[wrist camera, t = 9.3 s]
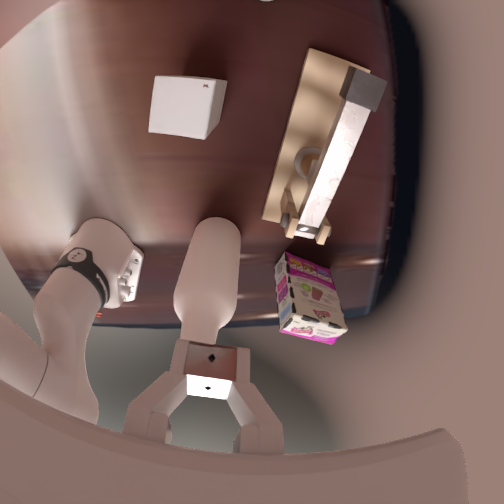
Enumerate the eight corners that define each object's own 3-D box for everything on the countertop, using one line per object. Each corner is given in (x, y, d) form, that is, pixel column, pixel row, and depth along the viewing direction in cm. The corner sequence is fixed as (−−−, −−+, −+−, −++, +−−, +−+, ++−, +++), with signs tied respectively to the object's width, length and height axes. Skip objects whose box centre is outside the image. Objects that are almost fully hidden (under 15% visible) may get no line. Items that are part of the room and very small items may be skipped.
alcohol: (232, 209, 48) (212, 358, 23) (246, 248, 53) (242, 396, 28) (187, 221, 49) (136, 364, 25) (204, 258, 54) (175, 400, 30)
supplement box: (181, 75, 34) (154, 73, 24) (228, 80, 35) (218, 79, 25) (174, 118, 38) (146, 133, 28) (219, 124, 39) (206, 140, 29)
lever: (311, 220, 42) (316, 242, 38) (288, 215, 42) (291, 237, 38) (371, 75, 26) (387, 81, 22) (343, 63, 25) (356, 67, 21)
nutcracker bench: (314, 226, 50) (328, 266, 40) (261, 215, 49) (263, 254, 39) (366, 70, 33) (402, 70, 23) (307, 49, 32) (327, 37, 22)
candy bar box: (272, 268, 56) (277, 332, 42) (284, 250, 53) (293, 313, 40) (317, 285, 58) (332, 346, 45) (330, 268, 56) (349, 330, 42)
